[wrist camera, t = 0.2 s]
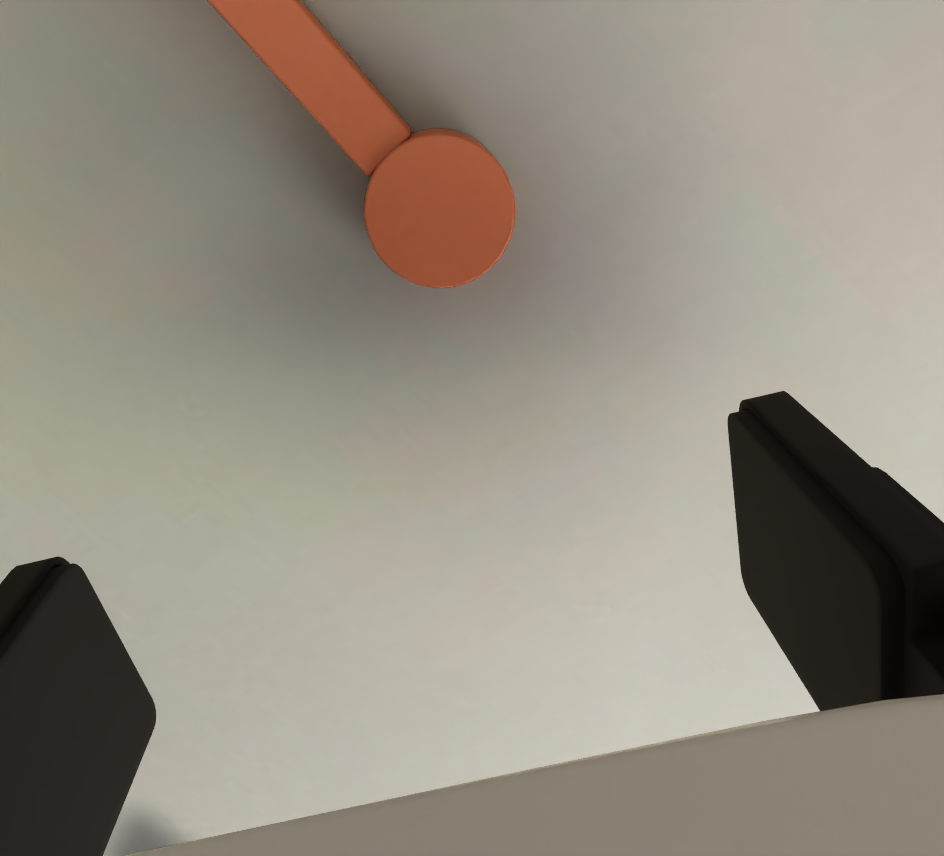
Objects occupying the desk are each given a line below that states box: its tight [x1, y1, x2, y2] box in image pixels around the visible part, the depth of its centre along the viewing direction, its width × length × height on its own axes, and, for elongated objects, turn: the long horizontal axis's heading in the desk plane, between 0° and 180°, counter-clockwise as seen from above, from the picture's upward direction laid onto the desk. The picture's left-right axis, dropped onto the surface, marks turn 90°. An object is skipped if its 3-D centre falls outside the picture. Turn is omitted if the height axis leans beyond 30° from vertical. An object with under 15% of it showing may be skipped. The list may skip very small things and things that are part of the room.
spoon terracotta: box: [207, 0, 515, 288], centre depth 23 cm, size 14×5×2 cm, turn 41°
